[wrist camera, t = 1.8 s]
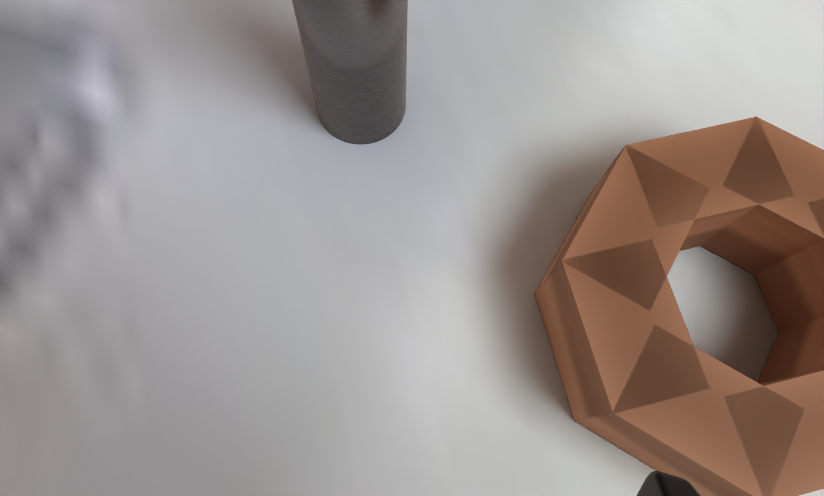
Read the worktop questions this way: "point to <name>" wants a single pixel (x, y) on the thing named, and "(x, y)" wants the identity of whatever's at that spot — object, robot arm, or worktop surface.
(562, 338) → the bead
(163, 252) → the worktop surface
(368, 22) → the brushed steel cylinder
